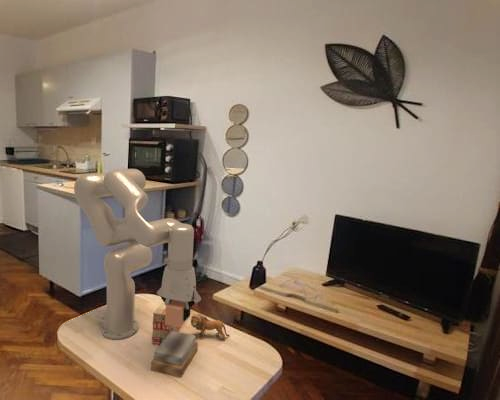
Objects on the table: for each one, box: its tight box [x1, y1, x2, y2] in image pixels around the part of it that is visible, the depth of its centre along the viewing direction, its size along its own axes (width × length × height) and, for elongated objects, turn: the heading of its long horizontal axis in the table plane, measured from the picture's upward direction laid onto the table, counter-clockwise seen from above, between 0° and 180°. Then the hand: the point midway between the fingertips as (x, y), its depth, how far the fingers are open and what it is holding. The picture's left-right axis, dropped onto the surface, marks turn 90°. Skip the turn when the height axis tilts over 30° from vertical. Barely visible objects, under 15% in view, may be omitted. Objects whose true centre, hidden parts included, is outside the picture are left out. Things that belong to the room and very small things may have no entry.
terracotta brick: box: [165, 300, 186, 328], centre depth 107 cm, size 5×8×6 cm, turn 168°
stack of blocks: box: [151, 300, 183, 346], centre depth 126 cm, size 21×6×12 cm, turn 172°
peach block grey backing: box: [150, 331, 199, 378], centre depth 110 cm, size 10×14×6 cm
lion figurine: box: [190, 313, 230, 342], centre depth 124 cm, size 15×5×9 cm, turn 97°
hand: (177, 316), depth 107 cm, fingers closed on terracotta brick, 4 cm apart
